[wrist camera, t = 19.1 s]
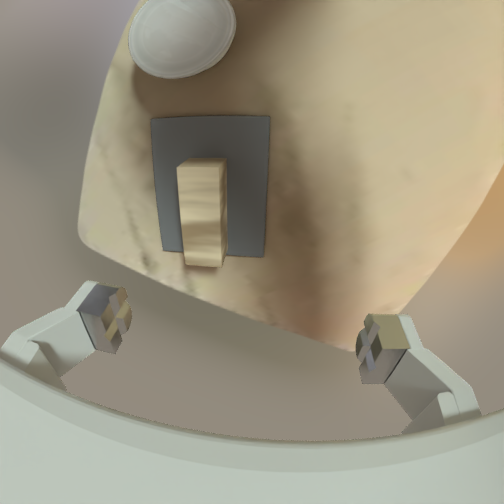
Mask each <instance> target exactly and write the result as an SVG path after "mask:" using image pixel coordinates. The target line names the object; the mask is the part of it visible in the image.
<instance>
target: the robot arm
mask: <svg viewBox="0 0 504 504" xmlns="http://www.w3.org/2000/svg"><path fill="white" fill-rule="evenodd" d="M127 297H128V296H127V292H126V289H125V288H123V287H120V286H115V285H110V284H106V283H100V282H95V281H90V280H89V281H86V282H85V283H84V284H83V285H82V286H81V288H80V289H79V290H78V291H77V293H76V294H75V295H74V296H73V298H72V299H71V300H70V301H69V303H68V304H67V305H66V306H65V308H62V307H61V308H59V309H57V310H55V311H53V312H51V313H49V314H47V315H45V316H43V317H41V318H39V319H37V320H35V321H33V322H31V323H29V324H27V325H25V326H23V327H22V328H19V329H18V330H16V331H14V332H13V333H12V334H11V335H10V337H9V338H8V339H7V341H6V342H5V344H4V345H3V346H2V348H1V349H0V504H504V408H503V409H500V410H498V411H495V412H492V413H489V414H486V415H483V416H482V415H481V412H480V409H479V406H478V403H477V400H476V398H475V395H474V392H473V390H472V387H471V386H470V385H469V384H468V383H467V382H465V381H464V380H463V379H462V378H461V377H460V376H459V375H458V374H456V373H455V372H454V371H453V370H452V369H451V368H449V367H448V366H447V365H446V364H445V363H444V362H443V361H441V360H440V359H439V358H438V357H437V356H435V355H434V354H433V353H432V352H431V351H430V350H428V349H424V348H423V345H422V343H421V340H420V338H419V335H418V333H417V331H416V328H415V326H414V324H413V322H412V319H411V317H410V316H409V315H408V314H395V315H394V314H368V315H367V316H366V318H365V320H364V325H365V328H364V329H363V330H361V331H360V332H359V334H358V337H357V341H356V355H357V358H358V359H359V360H360V361H361V362H362V364H361V365H360V367H359V370H360V376H361V381H362V384H384V385H385V386H386V388H387V389H388V390H389V391H390V393H391V394H392V395H393V396H394V398H395V399H396V400H397V401H398V403H399V404H400V405H401V407H402V408H403V409H404V410H405V412H406V413H407V414H408V415H409V417H410V418H411V419H412V422H411V423H410V424H409V425H408V426H407V427H406V428H405V429H404V430H403V431H402V434H399V435H392V436H385V437H376V438H366V439H352V440H331V441H294V440H271V439H258V438H248V437H238V436H230V435H223V434H215V433H209V432H204V431H198V430H192V429H187V428H182V427H177V426H173V425H168V424H164V423H160V422H156V421H152V420H148V419H144V418H140V417H137V416H134V415H130V414H127V413H124V412H120V411H117V410H114V409H111V408H108V407H105V406H102V405H99V404H97V403H94V402H91V401H88V400H86V399H83V398H81V397H78V396H76V395H73V394H71V393H68V392H66V391H67V389H66V386H65V385H64V383H63V382H62V380H61V379H60V377H61V376H62V375H64V374H65V373H66V372H68V371H69V370H70V369H72V368H73V367H74V366H76V365H77V364H78V363H80V362H81V361H82V360H83V359H85V358H86V357H87V356H89V355H90V354H91V353H93V352H94V351H95V349H96V350H100V351H104V352H108V353H112V354H116V352H117V350H118V348H119V346H120V344H121V342H122V338H121V335H122V334H124V333H125V332H127V331H128V329H129V327H130V324H131V319H132V311H131V308H130V306H129V304H128V303H127V302H126V301H125V300H126V298H127Z"/></svg>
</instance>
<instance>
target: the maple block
mask: <svg viewBox="0 0 504 504" xmlns="http://www.w3.org/2000/svg"><path fill="white" fill-rule="evenodd" d="M177 181H178V194H179V206H180V218H181V228H182V238H183V247H184V256H185V264H186V265H196V266H209V267H222V265H223V262H224V259H225V256H226V253H227V250H228V233H227V158H189V159H187V160H186V161H184V162H183V163H182V164H180V165H179V166H178V167H177Z"/></svg>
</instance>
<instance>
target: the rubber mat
mask: <svg viewBox="0 0 504 504" xmlns="http://www.w3.org/2000/svg"><path fill="white" fill-rule="evenodd" d="M269 129H270V117H267V116H189V117H171V118H158V119H151V138H152V154H153V167H154V179H155V189H156V199H157V208H158V217H159V225H160V232H161V240H162V247H163V250H165V251H179V252H184V247H183V238H182V228H181V218H180V206H179V194H178V181H177V167H178V166H179V165H180V164H182V163H183V162H184V161H186V160H187V159H189V158H227V233H228V250H227V253H226V255H236V256H250V257H263V256H264V238H265V218H266V198H267V176H268V153H269Z"/></svg>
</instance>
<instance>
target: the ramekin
mask: <svg viewBox="0 0 504 504" xmlns="http://www.w3.org/2000/svg"><path fill="white" fill-rule="evenodd" d="M235 31H236V17H235V12H234V9H233V7H232V5H231V4H230V2H229V1H228V0H148V1H147V2H146V3H145V4H144V5H143V6H142V7H141V9H140V10H139V11H138V12H137V14H136V16H135V17H134V19H133V21H132V24H131V27H130V30H129V36H128V46H129V51H130V54H131V56H132V59H133V61H134V62H135V63H136V64H137V66H138V67H139V68H141V69H142V70H143V71H144V72H146V73H148V74H150V75H152V76H155V77H159V78H165V79H178V78H185V77H189V76H192V75H195V74H198V73H200V72H202V71H204V70H207V69H208V68H211V67H212V66H213V65H215V64H216V63H217V62H218V61H220V60H221V59H222V58H223V57H224V56H225V54H226V52H227V51H228V49H229V47H230V46H231V42H232V40H233V38H234V35H235Z"/></svg>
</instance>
